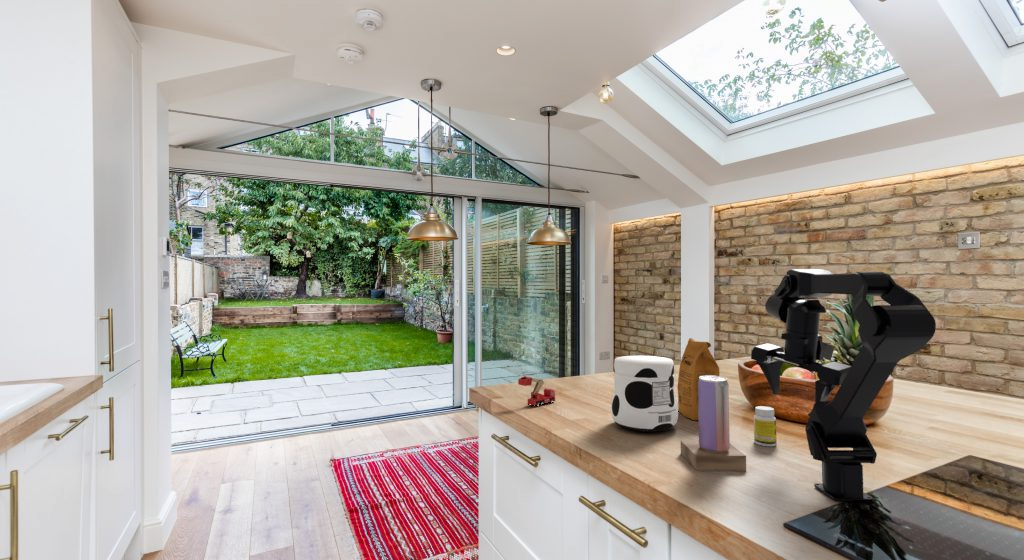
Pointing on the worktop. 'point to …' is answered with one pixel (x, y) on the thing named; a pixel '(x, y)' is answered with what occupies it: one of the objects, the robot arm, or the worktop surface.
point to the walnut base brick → (712, 458)
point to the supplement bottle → (764, 426)
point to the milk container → (644, 393)
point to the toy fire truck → (535, 396)
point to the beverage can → (713, 414)
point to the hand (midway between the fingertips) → (796, 401)
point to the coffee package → (694, 376)
